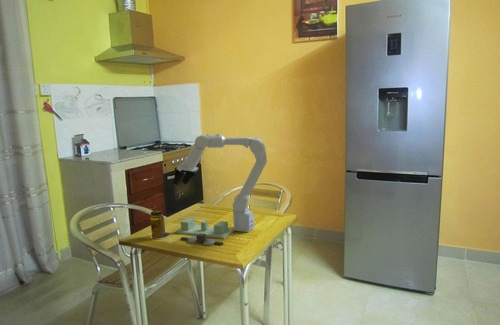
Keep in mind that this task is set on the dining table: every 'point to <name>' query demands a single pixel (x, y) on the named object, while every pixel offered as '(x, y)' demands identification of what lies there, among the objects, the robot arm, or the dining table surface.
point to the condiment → (158, 225)
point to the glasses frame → (202, 240)
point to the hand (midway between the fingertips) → (179, 183)
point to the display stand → (205, 229)
